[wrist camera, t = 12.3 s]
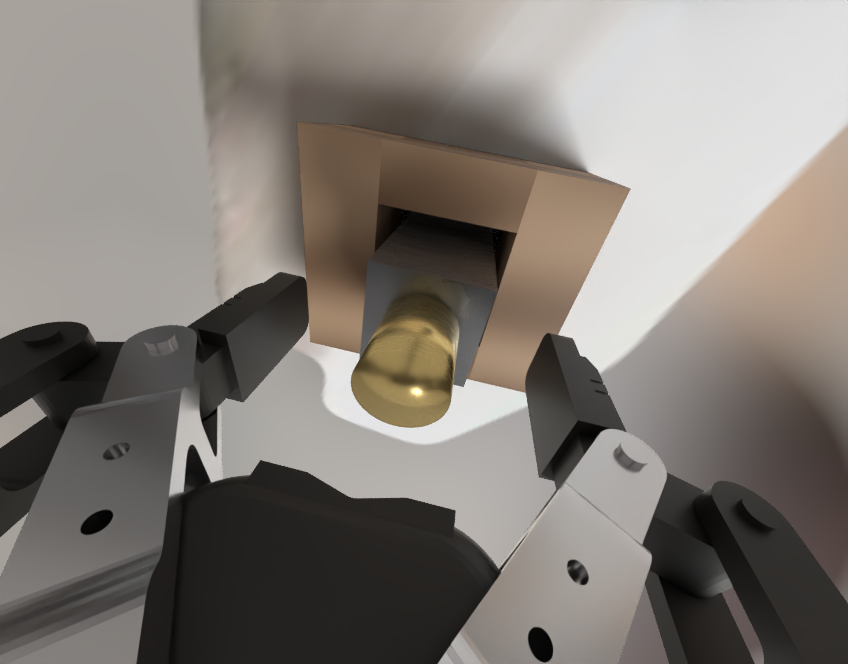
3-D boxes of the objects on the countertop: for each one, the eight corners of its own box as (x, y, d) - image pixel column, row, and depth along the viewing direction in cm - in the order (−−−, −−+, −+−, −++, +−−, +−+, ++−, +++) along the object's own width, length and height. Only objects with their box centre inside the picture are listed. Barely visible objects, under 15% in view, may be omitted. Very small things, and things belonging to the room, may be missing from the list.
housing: (348, 124, 15) (296, 122, 11) (589, 173, 15) (630, 188, 10) (345, 300, 21) (310, 341, 17) (519, 340, 20) (528, 393, 16)
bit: (420, 203, 17) (324, 307, 7) (491, 220, 17) (502, 351, 7) (408, 270, 19) (324, 423, 9) (471, 286, 19) (457, 458, 9)
